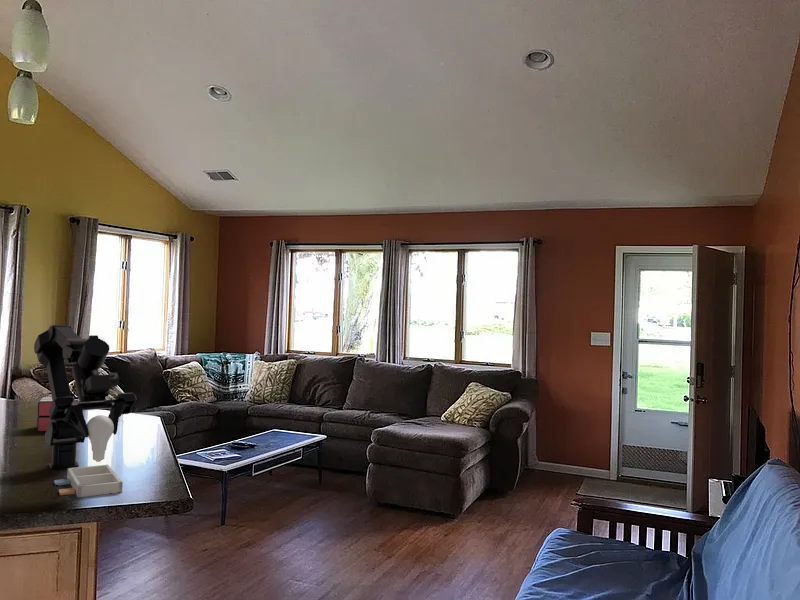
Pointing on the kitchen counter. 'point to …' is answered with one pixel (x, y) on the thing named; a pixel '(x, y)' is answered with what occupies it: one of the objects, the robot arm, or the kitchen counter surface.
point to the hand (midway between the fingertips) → (101, 435)
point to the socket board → (90, 481)
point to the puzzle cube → (44, 413)
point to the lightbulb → (99, 435)
